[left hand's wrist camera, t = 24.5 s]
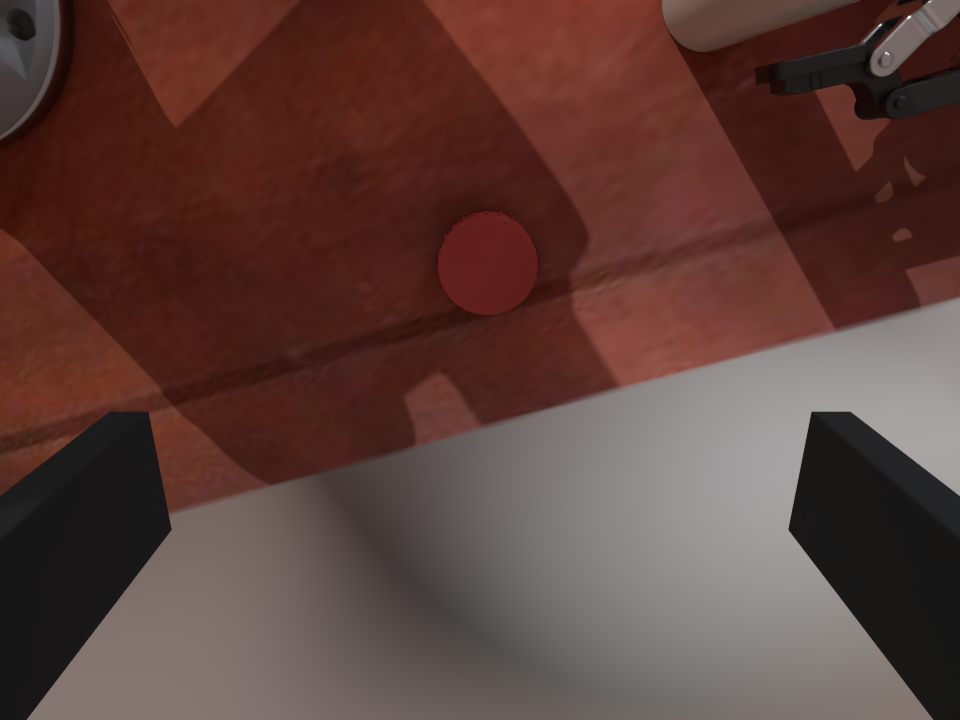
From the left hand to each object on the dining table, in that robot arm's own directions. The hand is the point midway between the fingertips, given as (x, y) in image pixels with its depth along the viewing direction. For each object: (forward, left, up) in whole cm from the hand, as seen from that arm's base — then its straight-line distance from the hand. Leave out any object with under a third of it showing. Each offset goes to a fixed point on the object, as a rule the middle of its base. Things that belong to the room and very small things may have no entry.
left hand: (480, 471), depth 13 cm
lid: (0, -1, -23) cm, 23 cm away
